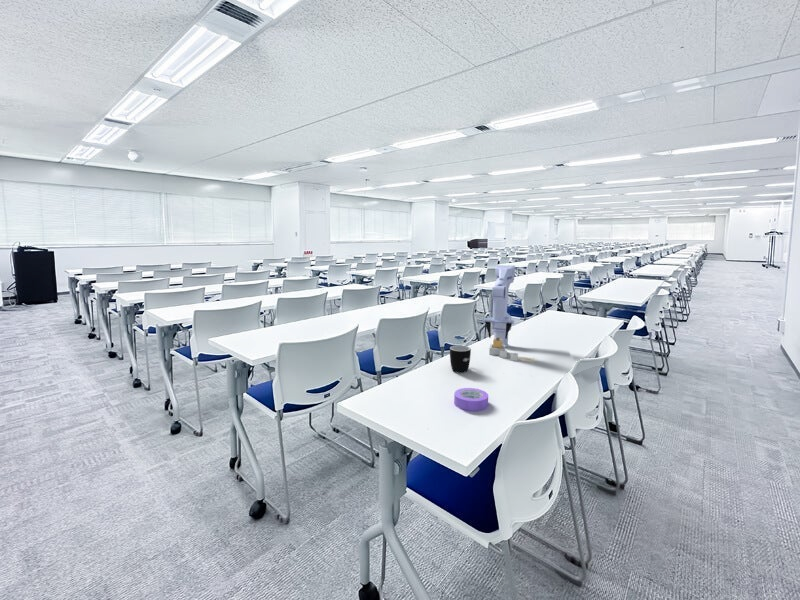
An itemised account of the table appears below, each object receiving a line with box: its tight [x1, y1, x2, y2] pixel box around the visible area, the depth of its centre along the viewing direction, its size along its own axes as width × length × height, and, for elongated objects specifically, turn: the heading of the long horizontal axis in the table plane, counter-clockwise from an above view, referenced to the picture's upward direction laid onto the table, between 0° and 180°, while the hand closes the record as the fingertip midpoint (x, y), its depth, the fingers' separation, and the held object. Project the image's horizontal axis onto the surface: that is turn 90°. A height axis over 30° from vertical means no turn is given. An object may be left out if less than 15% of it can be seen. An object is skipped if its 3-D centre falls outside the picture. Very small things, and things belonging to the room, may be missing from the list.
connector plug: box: [492, 337, 502, 349], centre depth 186 cm, size 4×4×8 cm
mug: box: [449, 344, 472, 374], centre depth 166 cm, size 12×9×10 cm
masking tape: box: [453, 387, 489, 412], centre depth 133 cm, size 12×12×4 cm
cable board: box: [488, 343, 535, 363], centre depth 181 cm, size 16×22×4 cm
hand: (497, 337), depth 185 cm, fingers open, 7 cm apart
